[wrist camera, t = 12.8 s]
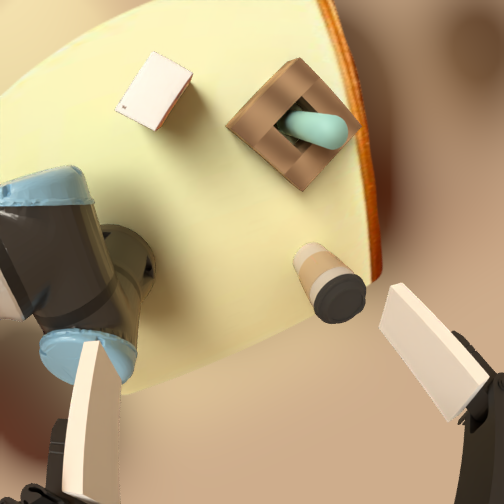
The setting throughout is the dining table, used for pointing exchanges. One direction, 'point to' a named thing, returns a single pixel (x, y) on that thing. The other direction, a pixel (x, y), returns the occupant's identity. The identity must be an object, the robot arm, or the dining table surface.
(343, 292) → the coffee cup
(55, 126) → the dining table surface
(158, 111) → the small box
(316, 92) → the socket
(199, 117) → the dining table surface
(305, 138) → the peg
